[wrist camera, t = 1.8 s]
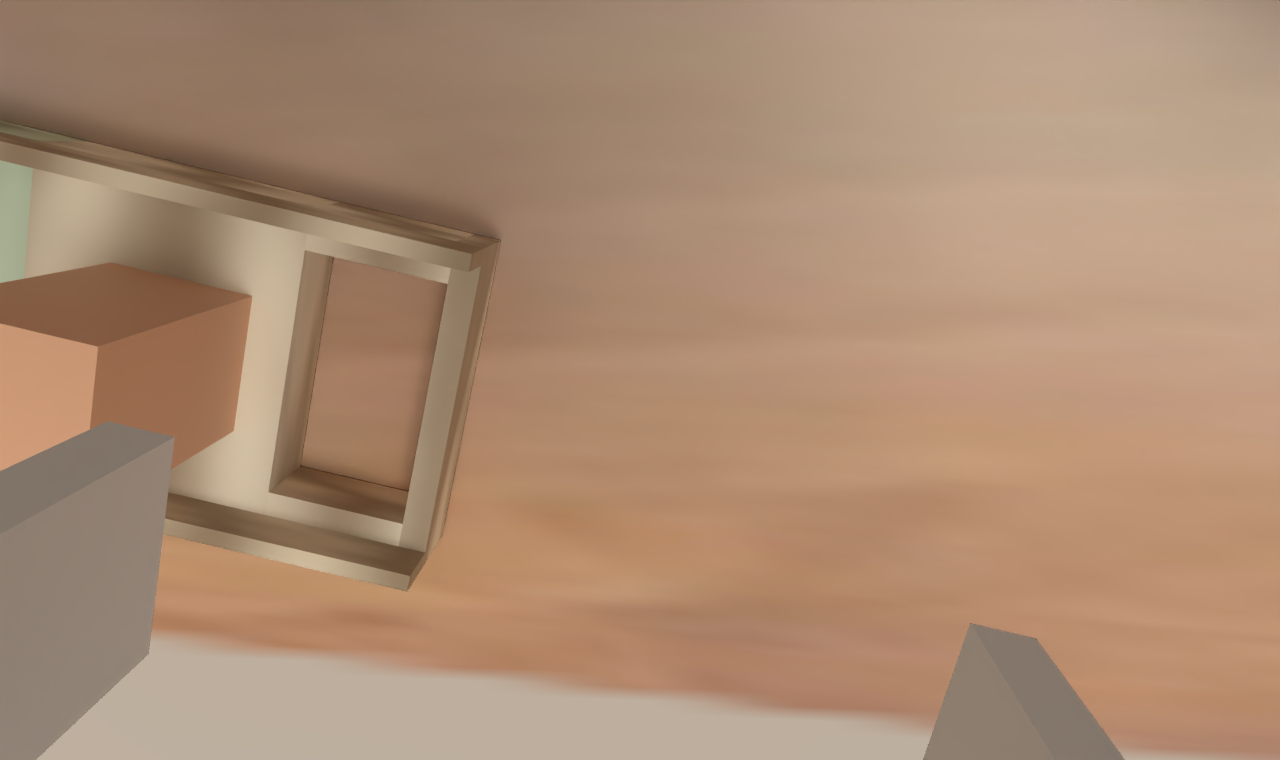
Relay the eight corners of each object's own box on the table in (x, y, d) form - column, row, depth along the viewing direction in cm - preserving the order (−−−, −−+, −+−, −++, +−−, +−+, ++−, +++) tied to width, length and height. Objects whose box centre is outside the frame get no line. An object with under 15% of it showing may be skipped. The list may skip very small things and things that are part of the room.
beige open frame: (-301, 360, 38) (-447, 391, 33) (-301, 48, 35) (-460, 30, 30) (442, 535, 38) (407, 591, 33) (501, 240, 35) (472, 254, 30)
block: (96, 398, 34) (-105, 482, 25) (110, 262, 33) (-96, 300, 24) (233, 430, 34) (80, 525, 25) (252, 296, 33) (97, 346, 24)
